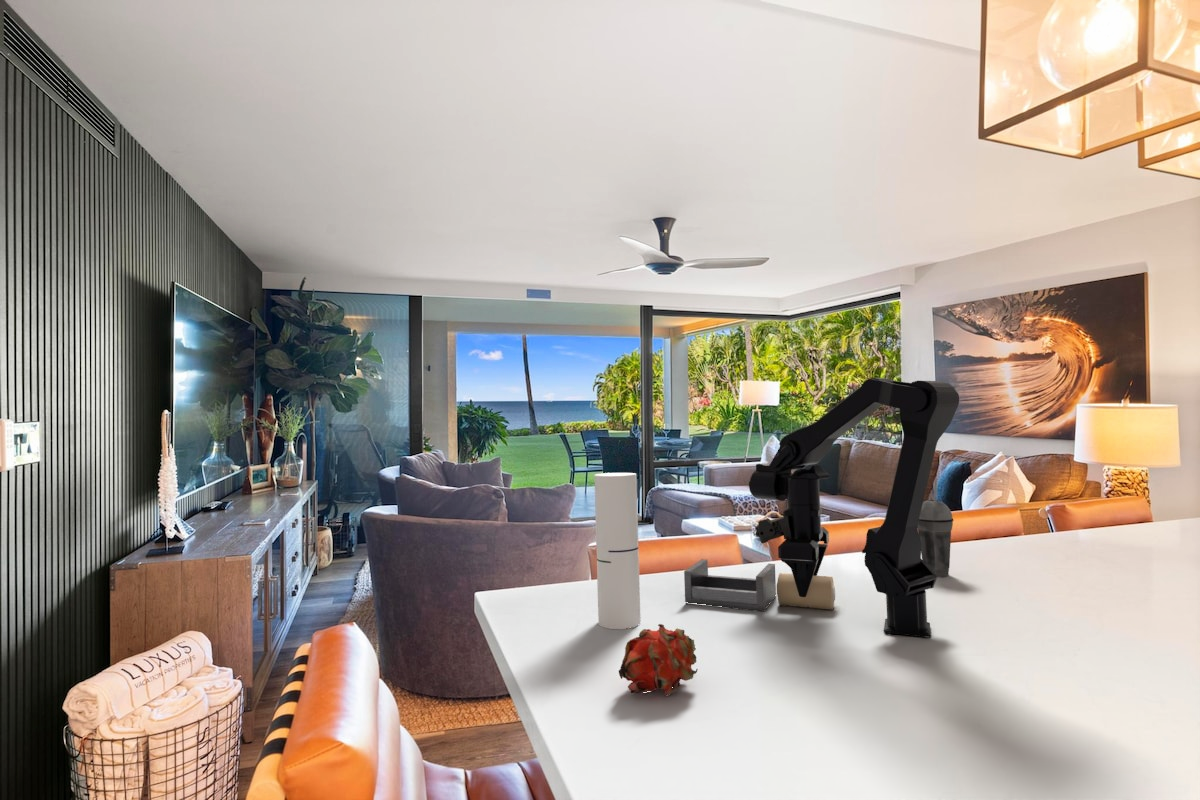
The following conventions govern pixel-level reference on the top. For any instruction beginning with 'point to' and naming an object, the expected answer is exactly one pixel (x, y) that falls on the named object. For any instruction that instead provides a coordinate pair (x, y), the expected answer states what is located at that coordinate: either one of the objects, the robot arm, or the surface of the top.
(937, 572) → the beverage cup
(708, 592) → the cradle
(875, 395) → the robot arm
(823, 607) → the paper roll
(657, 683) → the dragon fruit
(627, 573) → the cylindrical container
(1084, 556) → the top surface
